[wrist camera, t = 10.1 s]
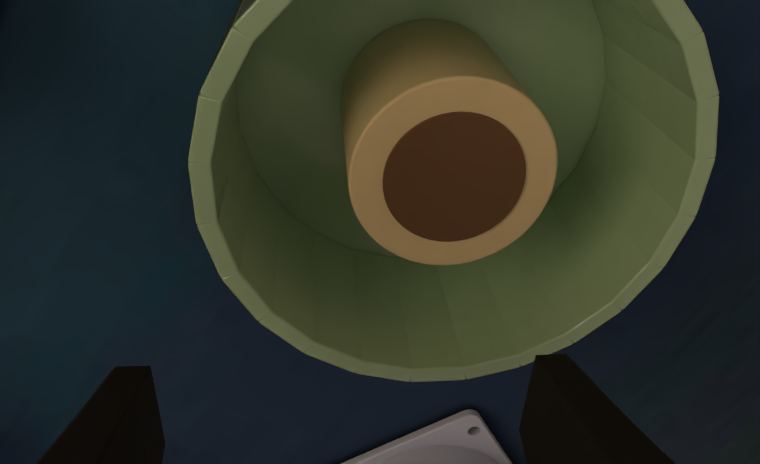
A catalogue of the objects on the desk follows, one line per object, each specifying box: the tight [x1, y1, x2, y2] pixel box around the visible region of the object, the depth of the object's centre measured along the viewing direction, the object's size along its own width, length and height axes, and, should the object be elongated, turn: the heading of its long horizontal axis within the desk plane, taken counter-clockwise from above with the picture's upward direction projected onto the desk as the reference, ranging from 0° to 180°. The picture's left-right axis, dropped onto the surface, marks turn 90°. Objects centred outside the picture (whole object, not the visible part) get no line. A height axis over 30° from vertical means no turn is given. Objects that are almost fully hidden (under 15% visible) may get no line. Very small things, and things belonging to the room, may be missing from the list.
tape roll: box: [341, 19, 558, 265], centre depth 17 cm, size 5×5×5 cm
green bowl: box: [188, 0, 719, 382], centre depth 17 cm, size 12×12×6 cm
